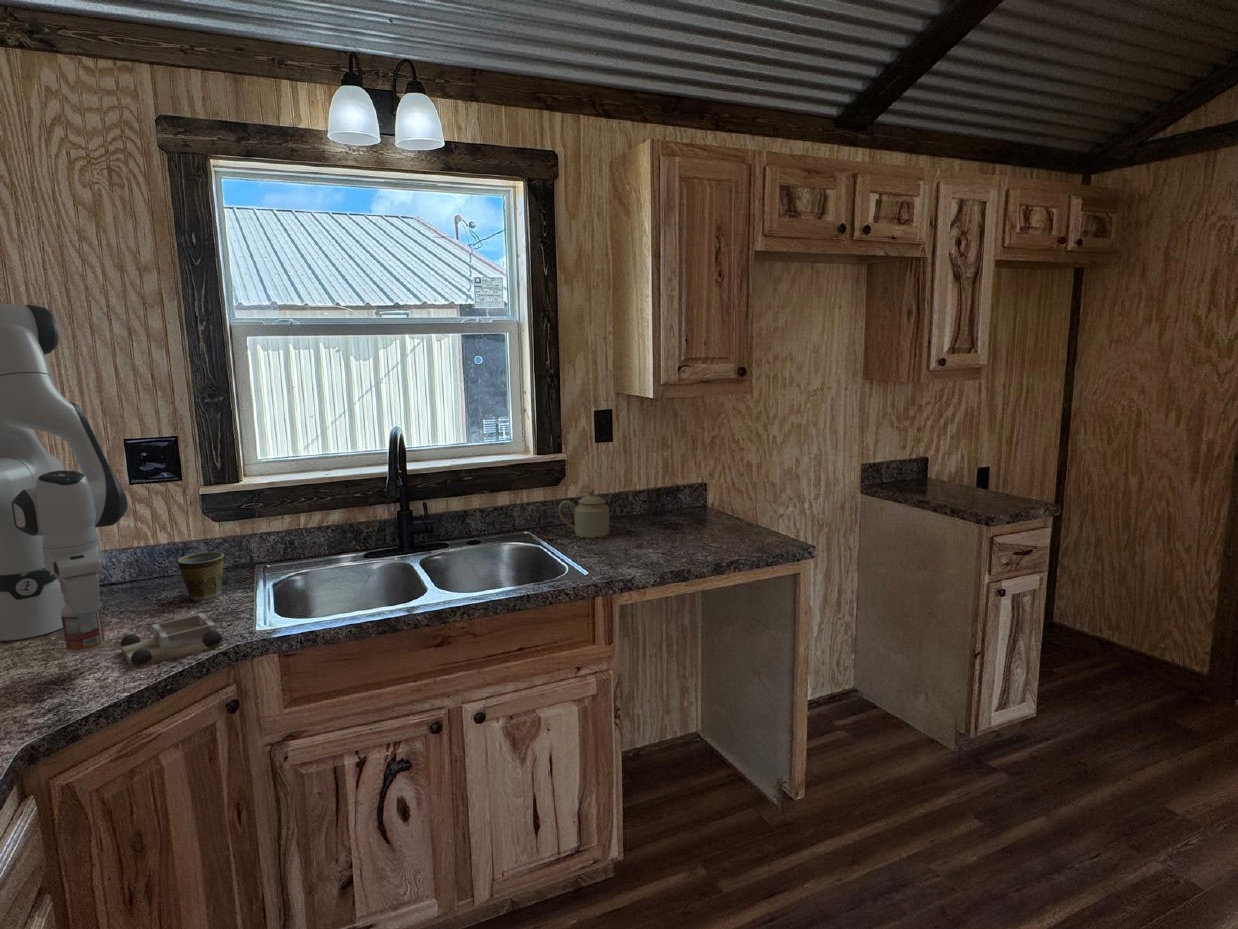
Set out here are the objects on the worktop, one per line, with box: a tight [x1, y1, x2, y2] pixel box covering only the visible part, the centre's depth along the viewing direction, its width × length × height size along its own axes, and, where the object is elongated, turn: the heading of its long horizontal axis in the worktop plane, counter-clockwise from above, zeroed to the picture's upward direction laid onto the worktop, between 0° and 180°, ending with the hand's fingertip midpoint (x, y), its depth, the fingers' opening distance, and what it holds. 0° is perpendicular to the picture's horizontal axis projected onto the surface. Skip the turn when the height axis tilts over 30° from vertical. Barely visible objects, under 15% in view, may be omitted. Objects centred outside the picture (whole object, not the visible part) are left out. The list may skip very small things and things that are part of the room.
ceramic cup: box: [177, 551, 225, 601], centre depth 187 cm, size 13×10×10 cm
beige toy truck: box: [120, 612, 223, 669], centre depth 155 cm, size 11×16×4 cm
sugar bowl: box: [558, 487, 610, 539], centre depth 236 cm, size 15×11×15 cm
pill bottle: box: [61, 594, 106, 654], centre depth 145 cm, size 6×6×11 cm
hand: (82, 626), depth 145 cm, fingers closed on pill bottle, 6 cm apart
